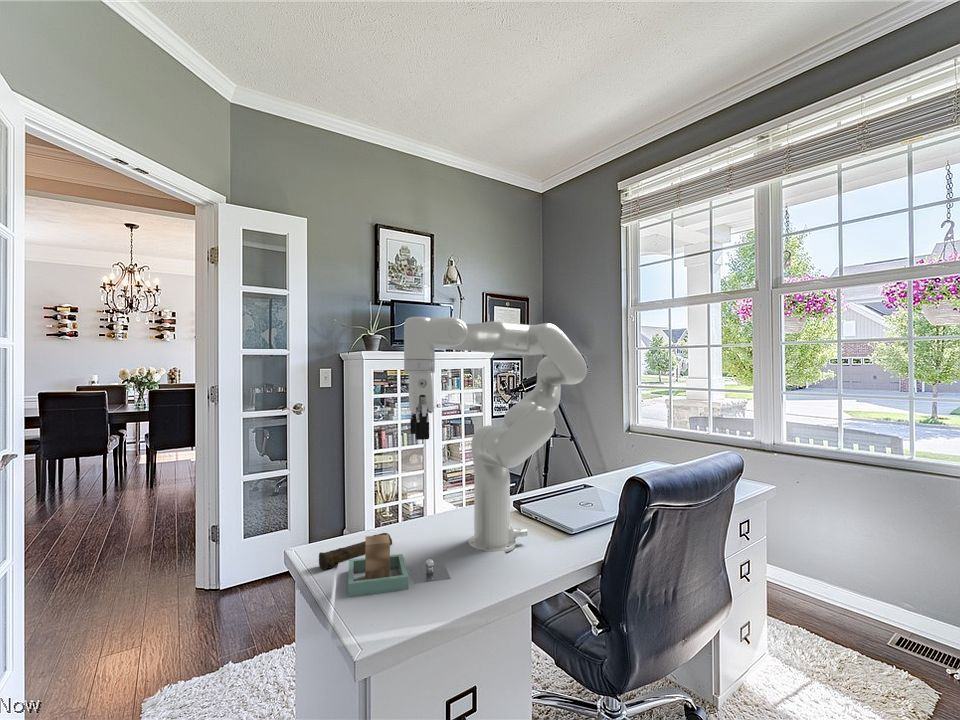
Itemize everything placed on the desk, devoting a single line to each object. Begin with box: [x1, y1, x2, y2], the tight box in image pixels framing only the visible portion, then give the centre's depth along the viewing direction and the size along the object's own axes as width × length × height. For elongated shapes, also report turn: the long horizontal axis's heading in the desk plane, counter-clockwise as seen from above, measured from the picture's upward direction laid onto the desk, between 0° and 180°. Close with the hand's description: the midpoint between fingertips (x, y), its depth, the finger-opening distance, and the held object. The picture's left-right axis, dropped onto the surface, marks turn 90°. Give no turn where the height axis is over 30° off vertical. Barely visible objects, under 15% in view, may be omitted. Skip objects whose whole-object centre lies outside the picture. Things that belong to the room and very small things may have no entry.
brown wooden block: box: [364, 533, 391, 580], centre depth 98 cm, size 5×5×9 cm
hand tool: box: [318, 532, 393, 571], centre depth 111 cm, size 19×4×5 cm, turn 129°
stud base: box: [409, 558, 451, 585], centre depth 101 cm, size 8×8×4 cm
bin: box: [347, 553, 409, 598], centre depth 98 cm, size 12×12×4 cm
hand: (419, 436), depth 111 cm, fingers open, 9 cm apart
